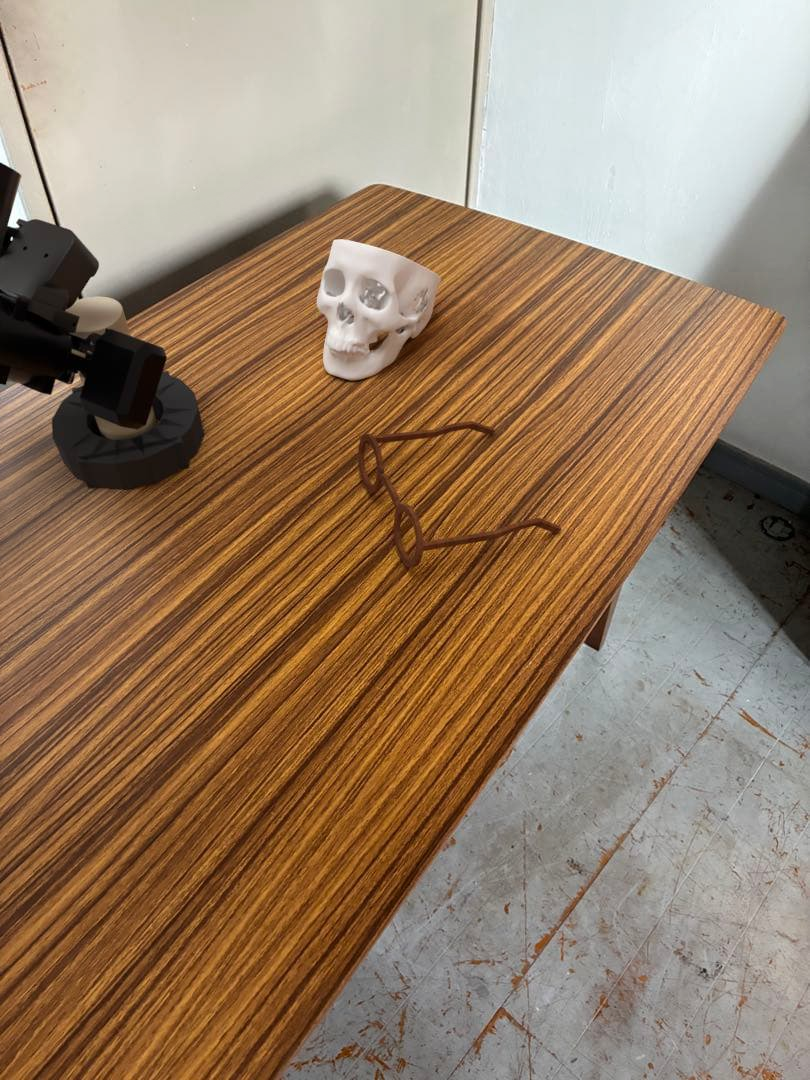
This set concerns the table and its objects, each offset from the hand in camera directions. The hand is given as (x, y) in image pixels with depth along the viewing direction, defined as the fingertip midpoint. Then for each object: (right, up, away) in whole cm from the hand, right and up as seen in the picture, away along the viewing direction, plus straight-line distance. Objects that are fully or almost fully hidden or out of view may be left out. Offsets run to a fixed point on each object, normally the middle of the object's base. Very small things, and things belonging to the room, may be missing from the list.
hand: (124, 372), depth 68 cm
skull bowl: (+21, +6, +14) cm, 26 cm away
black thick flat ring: (-1, -5, +4) cm, 7 cm away
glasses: (+28, -11, -1) cm, 30 cm away
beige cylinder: (-1, -5, +4) cm, 7 cm away
